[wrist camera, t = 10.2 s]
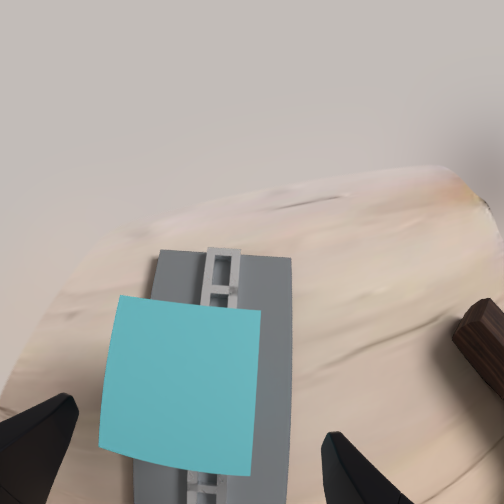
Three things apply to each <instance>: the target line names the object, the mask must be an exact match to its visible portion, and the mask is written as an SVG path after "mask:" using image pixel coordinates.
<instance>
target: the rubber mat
mask: <svg viewBox="0 0 504 504" xmlns="http://www.w3.org/2000/svg"><path fill="white" fill-rule="evenodd" d="M206 256H207V253H205V252H190V251H175V250H160V254H159V258H158V263H157V268H156V272H155V277H154V282H153V287H152V292H151V298H150V299H152V300H159V301H167V302H175V303H184V304H193V305H200V302H201V294H202V286H203V278H204V271H205V263H206ZM230 271H231V261H219V260H216V262H215V271H214V279H213V285H222V286H229V283H230ZM211 306H212V307H223V308H227V307H228V298H215V297H212V298H211ZM237 309H247V310H260V311H261V319H260V337H259V354H258V371H257V387H256V402H255V417H254V432H253V446H252V460H251V473H250V476H236V475H228V476H227V500H226V504H286V495H287V481H288V466H289V448H290V427H291V397H292V269H291V258H284V257H268V256H252V255H241V256H240V270H239V285H238V299H237ZM187 474H188V470H185V469H179V468H174V467H169V466H164V465H160V464H155V463H151V462H147V461H143V460H139V459H135V458H133V485H134V504H187ZM199 481H203V482H212V483H217V474H214V473H205V472H199ZM216 495H217V494H210V493H201V492H198V504H216Z"/></svg>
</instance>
